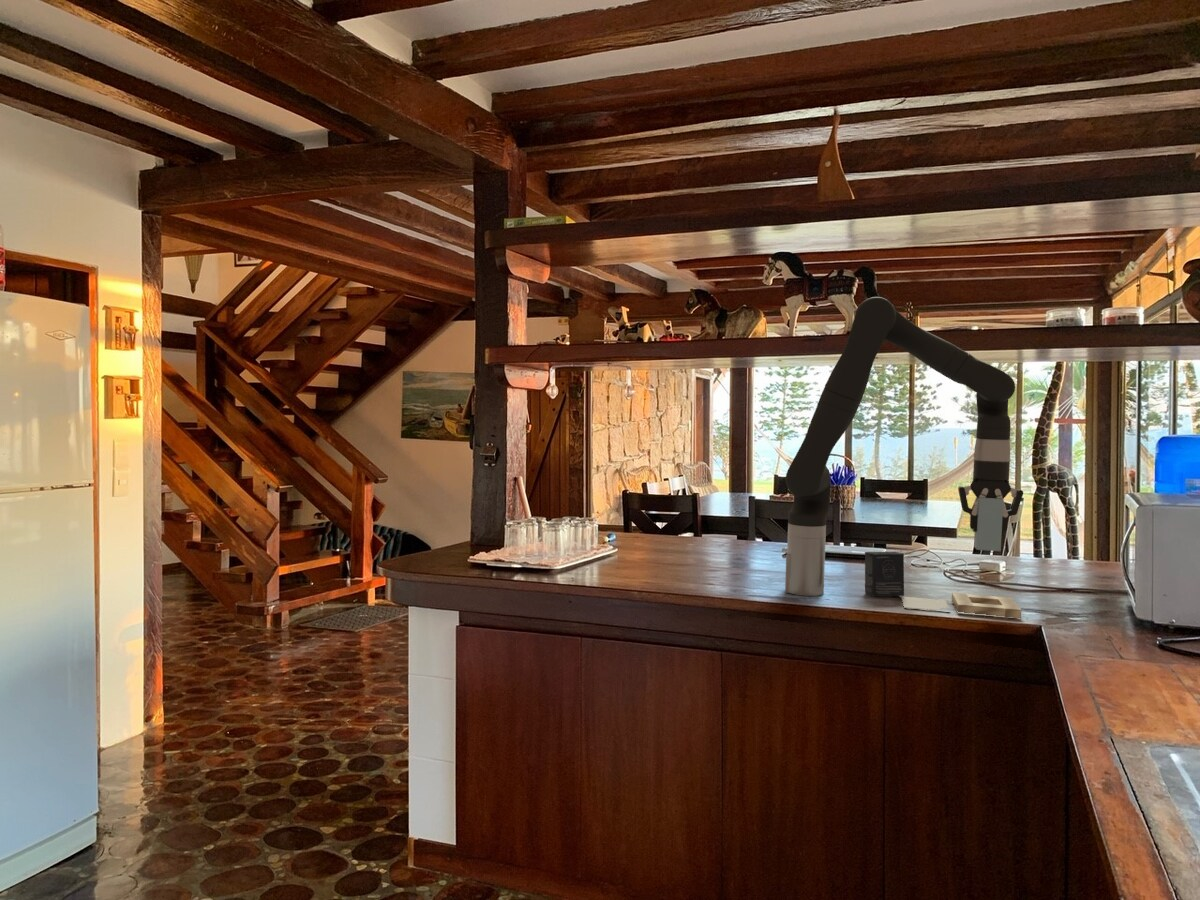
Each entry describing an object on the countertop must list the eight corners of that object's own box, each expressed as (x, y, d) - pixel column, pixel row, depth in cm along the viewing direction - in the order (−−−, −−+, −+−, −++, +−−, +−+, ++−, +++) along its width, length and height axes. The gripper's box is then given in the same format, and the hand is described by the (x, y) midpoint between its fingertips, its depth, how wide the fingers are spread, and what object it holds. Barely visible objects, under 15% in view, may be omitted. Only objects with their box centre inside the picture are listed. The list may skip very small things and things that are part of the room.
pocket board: (957, 614, 188) (958, 604, 188) (951, 601, 200) (952, 592, 200) (1020, 619, 184) (1021, 609, 184) (1010, 606, 196) (1011, 597, 196)
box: (894, 593, 208) (894, 551, 209) (904, 596, 203) (904, 553, 203) (864, 593, 208) (864, 551, 208) (873, 596, 202) (873, 553, 202)
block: (976, 549, 190) (979, 497, 189) (973, 546, 194) (976, 495, 194) (1000, 551, 188) (1003, 499, 188) (997, 548, 193) (999, 496, 192)
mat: (903, 608, 192) (903, 607, 192) (901, 598, 203) (901, 596, 203) (950, 612, 189) (950, 611, 189) (945, 601, 200) (945, 600, 200)
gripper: (960, 458, 189) (956, 532, 190) (1029, 461, 185) (1025, 536, 185) (956, 456, 196) (952, 528, 197) (1023, 459, 192) (1019, 532, 193)
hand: (988, 531), depth 191 cm, fingers closed on block, 5 cm apart
